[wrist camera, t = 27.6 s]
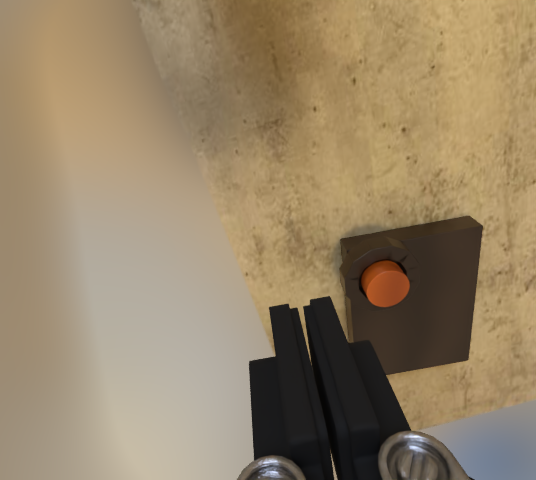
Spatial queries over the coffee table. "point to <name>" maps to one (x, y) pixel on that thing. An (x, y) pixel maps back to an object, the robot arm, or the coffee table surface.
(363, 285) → the button
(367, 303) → the button block
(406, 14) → the coffee table surface
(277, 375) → the robot arm
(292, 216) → the coffee table surface
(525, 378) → the coffee table surface
